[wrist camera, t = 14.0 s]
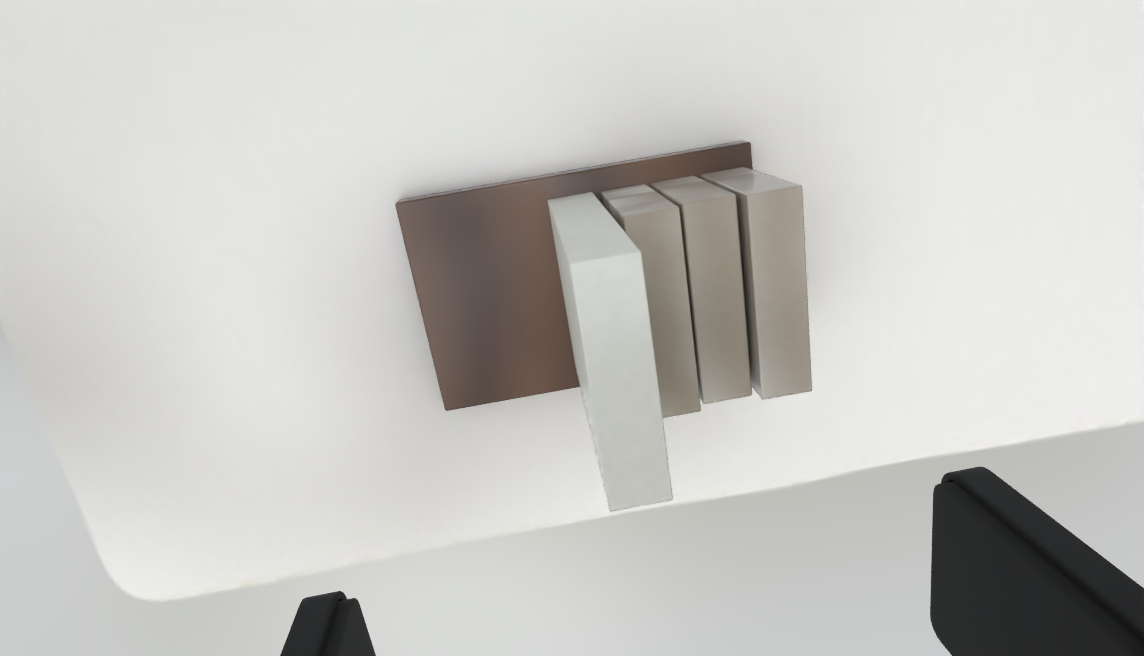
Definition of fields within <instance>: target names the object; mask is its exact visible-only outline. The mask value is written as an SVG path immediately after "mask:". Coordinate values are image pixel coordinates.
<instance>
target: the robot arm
mask: <svg viewBox="0 0 1144 656" xmlns="http://www.w3.org/2000/svg"><path fill="white" fill-rule="evenodd" d="M931 569H932V570H931V607H930V616H931V622H932V626H933V629H934V631H935V633H936V635H937V637H938V638H939V640H940V641H941V642H942V644H943V645H944V646H945V648H946V649H947V650H948V651H949V652H950V654H951V655H952V656H1144V588H1143V587H1141V586H1140V585H1139V584H1137V583H1136V582H1135V581H1133V580H1132V579H1131V578H1129V577H1128V576H1127V575H1126V574H1124V573H1123V572H1122V571H1120V570H1119V569H1118V568H1116V567H1115V566H1114V565H1113V564H1111V563H1110V562H1109V561H1107V560H1106V559H1105V558H1103V557H1102V556H1101V555H1099V554H1098V553H1097V552H1096V551H1094V550H1093V549H1092V548H1090V547H1089V546H1088V545H1086V544H1085V543H1084V542H1083V541H1081V540H1080V539H1079V538H1077V537H1076V536H1075V535H1073V534H1072V533H1071V532H1070V531H1068V530H1067V529H1066V528H1064V527H1063V526H1062V525H1060V524H1059V523H1057V522H1056V521H1055V520H1054V519H1053V518H1051V517H1050V516H1049V515H1047V514H1046V513H1045V512H1043V511H1042V510H1041V509H1040V508H1038V507H1037V506H1035V505H1034V504H1033V503H1032V502H1030V501H1029V500H1028V499H1026V498H1025V497H1024V496H1023V495H1021V494H1020V493H1019V492H1017V491H1016V490H1015V489H1013V488H1012V487H1011V486H1010V485H1008V484H1007V483H1006V482H1004V481H1003V480H1002V479H1000V478H999V477H997V476H996V475H995V474H994V473H993V472H991V471H990V470H988V469H986V468H984V467H975V468H971V469H965V470H960V471H955V472H950V473H947V474H945V475H944V476H943V478H942V481H941V484H938V485H936V486H935V488H934V493H933V527H932V566H931ZM280 656H376V655H375V652H374V649H373V645H372V642H371V639H370V636H369V633H368V630H367V627H366V623H365V620H364V617H363V614H362V611H361V608H360V605H359V602H358V600H357V599H355V598H352V599H347V598H346V596H345V594H344V593H343V592H341V591H338V592H333V593H328V594H322V595H317V596H312V597H307V598H305V599H303V600H302V602H301V604H300V606H299V608H298V611H297V614H296V616H295V619H294V621H293V624H292V626H291V629H290V632H289V634H288V637H287V640H286V642H285V645H284V647H283V650H282V653H281V655H280Z"/></svg>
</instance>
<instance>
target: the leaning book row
mask: <svg viewBox="0 0 1144 656" xmlns="http://www.w3.org/2000/svg"><path fill="white" fill-rule="evenodd" d="M589 192H592V193H593V194H594V195H595V196H596V197H597V199H598V200H599V201H600V202H601V204H602V205H603V206H604V207H605V208H606V210H607V211H608V212H609V213H610V215H611V216H612V217H613V218H614V219H615V221H616V222H617V223H618V224H619V226H620V227H621V228H622V229H623V230H624V232H625V233H626V234H627V235H628V237H629V238H630V239H631V240H632V241H633V243H634V244H635V245H636V246H637V248H638V249H639V250H640V251H641V255H642V263H643V270H644V278H645V286H646V294H647V302H648V309H649V317H650V325H651V333H652V340H653V348H654V356H655V364H656V372H657V379H658V387H659V395H660V403H661V410H662V418H666V417H671V416H677V415H682V414H687V413H693V412H698V411H701V406H700V399H701V401H702V402H703V404H707V403H713V402H718V401H724V400H729V399H735V398H740V397H746V396H750V395H752V388H753V389H754V390H755V391H756V393H757V394H758V395H759V396H760V397H761V399H763V400H764V399H770V398H775V397H781V396H786V395H792V394H797V393H803V392H808V391H812V382H811V361H810V340H809V320H808V299H807V278H806V258H805V237H804V216H803V196H802V186H801V185H798V184H795V183H792V182H789V181H786V180H782V179H779V178H776V177H773V176H770V175H767V174H764V173H761V172H757V171H754V170H752V155H751V144H750V142H746V141H738V142H732V143H727V144H721V145H715V146H709V147H703V148H698V149H692V150H686V151H680V152H674V153H668V154H663V155H657V156H651V157H645V158H639V159H633V160H628V161H622V162H616V163H610V164H604V165H599V166H593V167H587V168H581V169H575V170H569V171H564V172H558V173H552V174H546V175H540V176H535V177H529V178H523V179H517V180H511V181H505V182H500V183H494V184H488V185H482V186H476V187H470V188H465V189H459V190H453V191H447V192H441V193H436V194H430V195H424V196H418V197H412V198H406V199H401V200H399V201H397V202H396V204H395V206H396V210H397V214H398V218H399V222H400V226H401V230H402V234H403V239H404V243H405V247H406V251H407V255H408V259H409V263H410V267H411V272H412V276H413V280H414V284H415V288H416V292H417V296H418V300H419V305H420V309H421V313H422V317H423V321H424V325H425V329H426V333H427V338H428V342H429V346H430V350H431V354H432V358H433V362H434V366H435V370H436V375H437V379H438V383H439V387H440V391H441V395H442V399H443V403H444V408H445V410H446V411H448V410H454V409H459V408H465V407H470V406H476V405H481V404H487V403H492V402H498V401H503V400H509V399H515V398H520V397H526V396H531V395H537V394H542V393H548V392H553V391H559V390H564V389H570V388H576V387H580V383H579V379H578V375H577V370H576V366H575V360H574V354H573V348H572V342H571V336H570V330H569V325H568V319H567V313H566V307H565V301H564V295H563V289H562V283H561V278H560V272H559V266H558V260H557V254H556V248H555V242H554V236H553V230H552V225H551V219H550V213H549V207H548V200H549V199H555V198H560V197H566V196H572V195H578V194H584V193H589ZM751 386H752V388H751Z"/></svg>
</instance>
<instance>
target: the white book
mask: <svg viewBox="0 0 1144 656" xmlns="http://www.w3.org/2000/svg"><path fill="white" fill-rule="evenodd" d="M548 207H549V213H550V219H551V225H552V230H553V236H554V242H555V248H556V254H557V260H558V266H559V272H560V278H561V283H562V289H563V295H564V301H565V307H566V313H567V319H568V325H569V330H570V336H571V342H572V348H573V354H574V360H575V366H576V370H577V375H578V379H579V383H580V387H581V391H582V396H583V400H584V404H585V408H586V413H587V417H588V421H589V425H590V430H591V434H592V438H593V442H594V446H595V451H596V455H597V459H598V463H599V468H600V472H601V476H602V480H603V485H604V489H605V493H606V497H607V501H608V506H609V510H610V511H616V510H622V509H627V508H632V507H638V506H643V505H648V504H654V503H659V502H665V501H670V500H672V499H673V496H672V488H671V480H670V473H669V465H668V457H667V449H666V441H665V434H664V426H663V418H662V410H661V403H660V395H659V387H658V379H657V372H656V364H655V356H654V348H653V340H652V333H651V325H650V317H649V309H648V302H647V294H646V286H645V278H644V270H643V263H642V255H641V251H640V250H639V249H638V248H637V246H636V245H635V244H634V243H633V241H632V240H631V239H630V238H629V237H628V235H627V234H626V233H625V232H624V230H623V229H622V228H621V227H620V226H619V224H618V223H617V222H616V221H615V219H614V218H613V217H612V216H611V215H610V213H609V212H608V211H607V210H606V208H605V207H604V206H603V205H602V204H601V202H600V201H599V200H598V199H597V197H596V196H595V195H594V194H593V193H592V192H589V193H584V194H578V195H572V196H566V197H560V198H555V199H549V200H548Z"/></svg>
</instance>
